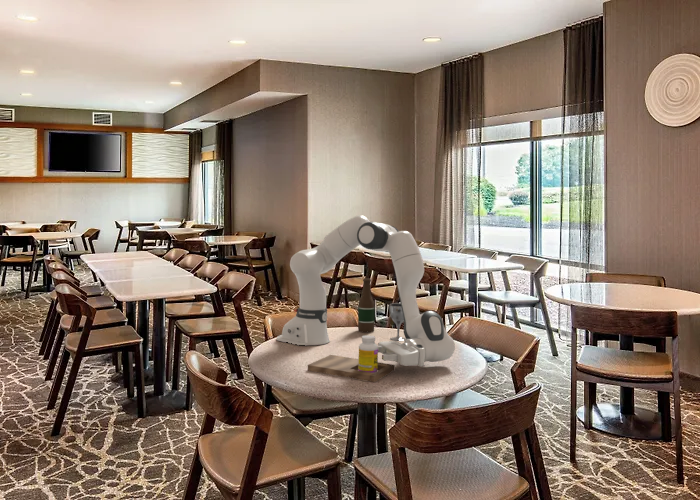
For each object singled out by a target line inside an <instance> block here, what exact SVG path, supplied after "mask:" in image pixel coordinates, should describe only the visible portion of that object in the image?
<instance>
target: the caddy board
mask: <svg viewBox="0 0 700 500" xmlns="http://www.w3.org/2000/svg"><path fill="white" fill-rule="evenodd" d="M358 362H359V358H354V357H348V356H340V355H334V354H330V355H326V356H325V357H323V358H320V359H318V360H316V361H314V362H311V363H309V364H307V371H308V372H313V373H320V374H324V375H330V376H331V375H332V376H338V377H342V378H348V379H349V378H350V379H355V380H360V381H365V382H371V383H376V382H377V381H379V380H381V379H383V378H384V377H386V376H387V375H389V374H391V373H393V372H395V368H396V367H395V364H392V363H386V362H380V361H379V362H378V368H377V372H375V373H371V372H365V371H359V370H358Z"/></svg>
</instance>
